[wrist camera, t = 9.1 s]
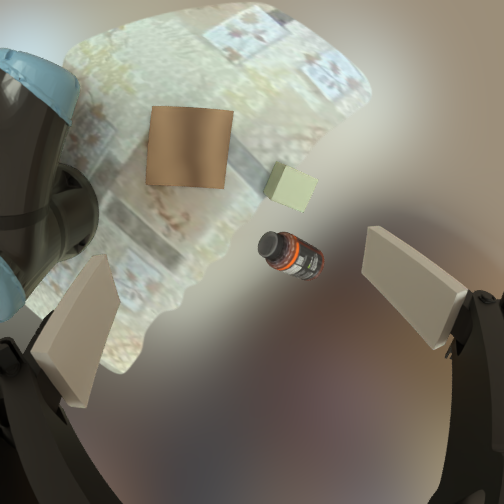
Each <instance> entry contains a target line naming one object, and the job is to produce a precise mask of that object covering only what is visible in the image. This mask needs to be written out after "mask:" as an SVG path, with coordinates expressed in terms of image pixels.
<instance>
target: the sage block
mask: <svg viewBox="0 0 504 504" xmlns="http://www.w3.org/2000/svg"><path fill="white" fill-rule="evenodd" d="M317 182H318V180H317V179H315V178H313V177H311V176H309V175H307V174H304V173H302V172H300V171H298V170H296V169H293V168H291V167H289V166H287V165H284V164H282V163H279V162H277V161H276V164H275V166H274V168H273V171H272V173H271V175H270V177H269V180H268V182H267V184H266V187H265V189H264V191H263V192H264V193H265V194H266V195H267V196H268V198H269V199H271V200H272V201H275V202H277V203H280V204H282V205H285V206H288V207H290V208H292V209H295V210H298V211H300V212H303V213H304V211H305V209H306V206H307V204H308V202H309V200H310V198H311V196H312V193H313V191H314V189H315V187H316V185H317Z"/></svg>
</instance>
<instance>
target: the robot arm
mask: <svg viewBox="0 0 504 504" xmlns="http://www.w3.org/2000/svg"><path fill="white" fill-rule="evenodd" d="M79 93H80V84H79V82H78V80H77V78H76V77H75V76H74V75H73V74H72V73H70V72H69V71H68V70H66V69H64V68H62V67H61V66H59V65H57V64H54V63H52V62H50V61H48V60H45V59H43V58H40V57H38V56H35V55H32V54H29V53H25V52H22V51H18V52H17V51H15V50H11V49H8V48H0V323H2V322H5V321H7V320H9V319H11V318H12V317H13V316H14V314H15V313H16V312H17V311H18V310H19V309H20V308H22V307H23V306H24V304H25V301H26V300H27V298H28V297H29V296H30V294H31V293H32V292H33V291H34V289H35V288H36V287H37V286H38V284H39V283H40V282H41V281H42V279H43V278H44V277H45V276H46V275H47V273H48V272H49V271H50V270H51V269H52V268H53V266H54V265H55V264H56V263H58V262H61V261H64V260H67V259H70V258H73V257H75V256H76V255H78V254H79V253H81V252H82V251H83V250H84V249H85V247H86V246H87V245H88V244H89V243H90V241H91V240H92V238H93V237H94V234H95V232H96V229H97V225H98V217H99V211H98V203H97V199H96V195H95V193H94V190H93V188H92V186H91V184H90V183H89V181H88V180H87V179H86V177H85V176H84V175H83V174H82V173H81V172H79V171H78V170H77V169H75V168H73V167H71V166H68V165H65V164H58V163H59V159H60V155H61V152H62V148H63V145H64V142H65V138H66V135H67V132H68V129H69V127H71V125H72V120H71V118H72V115H73V112H74V109H75V105H76V102H77V100H78V97H79ZM362 274H363V275H364V276H365V277H366V278H367V279H368V280H369V281H370V282H371V283H372V284H373V285H374V286H375V287H376V288H377V289H378V290H379V291H380V292H381V293H382V294H383V295H384V297H386V299H387V300H388V301H389V302H390V303H391V304H392V305H393V306H394V307H395V308H396V309H397V310H398V311H399V312H400V313H401V315H402V316H403V317H404V318H405V319H406V320H407V321H408V322H409V323H410V324H411V325H412V326H413V328H414V329H415V330H416V331H417V332H418V333H419V334H420V336H421V337H422V338H423V339H424V340H425V341H426V342H427V344H428V345H429V346H430V347H431V348H432V349H433V350H435V349H437V348H439V347H441V346H443V345H445V343H446V341H447V339H448V337H449V335H450V333H451V334H452V335H453V336H454V339H453V341H452V343H451V345H450V347H449V349H448V351H447V353H446V355H445V358H447V357H448V355H449V353H452V355H451V357H450V359H452V403H451V417H450V428H449V437H448V444H447V451H446V456H445V462H444V467H443V472H442V477H441V481H440V484H439V487H438V489H437V491H436V492H435V493H434V494H433V496H432V497H431V499H430V500H429V502H428V504H504V293H503V295H502V298H501V299H497V300H496V298H495V297H494V296H493V295H491V294H490V293H488V292H486V291H482V290H477V291H475V292H474V293H472V292H471V291H470V290H468V289H467V288H466V287H465V286H464V285H462V284H461V283H460V282H459V281H457V280H456V279H455V278H453V277H452V276H451V275H449V274H448V273H447V272H445V271H444V270H443V269H441V268H440V267H439V266H437V265H436V264H435V263H433V262H432V261H431V260H429V259H428V258H426V257H425V256H424V255H422V254H421V253H419V252H418V251H416V250H415V249H413V248H412V247H411V246H409V245H408V244H406V243H405V242H403V241H402V240H400V239H399V238H397V237H396V236H394V235H393V234H391V233H390V232H388V231H387V230H385V229H383V228H382V227H380V226H373V227H368V230H367V239H366V246H365V253H364V260H363V266H362ZM119 305H120V299H119V296H118V293H117V290H116V287H115V283H114V280H113V277H112V273H111V270H110V267H109V263H108V259H107V256H106V254H102V255H94V256H92V257H91V259H90V260H89V261H88V263H87V264H86V265H85V267H84V268H83V269H82V271H81V272H80V273H79V275H78V276H77V278H76V279H75V280H74V282H73V283H72V285H71V286H70V288H69V289H68V290H67V292H66V293H65V295H64V296H63V298H62V299H61V301H60V302H59V304H58V306H57V307H56V309H55V310H52V311H51V312H50V313H49V314H48V315H47V316H46V317H45V318H44V319H43V321H42V323H41V324H40V328H38V329H37V331H36V334H35V335H34V336H33V338H32V339H31V341H30V343H29V345H28V346H27V348H26V350H25V352H24V354H22V353H21V351H20V349H19V348H18V346H17V345H16V343H15V341H14V339H12V338H10V337H4V338H2V339H0V504H123V503H122V502H121V501H120V500H119V498H118V497H117V496H116V495H115V493H114V492H113V491H112V489H111V488H110V487H109V485H108V484H107V483H106V481H105V480H104V479H103V477H102V475H101V474H100V473H99V471H98V470H97V468H96V467H95V465H94V464H93V462H92V460H91V459H90V457H89V456H88V454H87V453H86V451H85V449H84V447H83V446H82V444H81V442H80V441H79V439H78V437H77V435H76V433H75V431H74V430H73V428H72V426H71V424H70V422H69V420H68V418H67V416H66V414H65V412H64V409H63V408H62V407H61V406H60V404H59V403H60V400H61V397H63V399H64V400H65V401H66V402H67V403H68V405H69V406H72V407H80V408H87V404H88V400H89V396H90V392H91V389H92V385H93V381H94V378H95V375H96V371H97V368H98V365H99V362H100V358H101V355H102V352H103V349H104V346H105V343H106V340H107V337H108V335H109V332H110V329H111V326H112V323H113V321H114V318H115V315H116V313H117V310H118V308H119Z"/></svg>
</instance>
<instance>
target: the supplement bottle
mask: <svg viewBox="0 0 504 504" xmlns="http://www.w3.org/2000/svg"><path fill="white" fill-rule="evenodd" d="M258 252H259V254H260V255H261V256H262V257H264V258H266V261H267V263H268V264H269V265H270V266H271V267H273V268H274V269H277V270H279V271H282V272H284V273H287V274H289V275H292V276H295V277H297V278H300V279H302V280H306V281H309V280H313V279H315V278H316V277H318V276H319V274H320V273H321V272H322V270H323V267H324V256H323V254H322V252H321V251H320V250H318V249H317V248H315V247H313V246H312V245H310V244H308V243H307V242H305V241H303V240H301V239H299V238H298V237H296V236H294V235H292V234H290V233H288V232H280V233H275V232H271V231H270V232H267V233H265V234H264V235H263V236H262V238H261V239H260V241H259V244H258Z"/></svg>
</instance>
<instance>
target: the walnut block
mask: <svg viewBox="0 0 504 504" xmlns="http://www.w3.org/2000/svg"><path fill="white" fill-rule="evenodd" d="M233 113H234V111H228V110H218V109H207V108H193V107H170V106H152V112H151V121H150V130H149V141H148V153H147V168H146V185H168V186H187V187H203V188H217V189H224V183H225V174H226V166H227V158H228V150H229V142H230V134H231V127H232V120H233Z"/></svg>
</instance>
